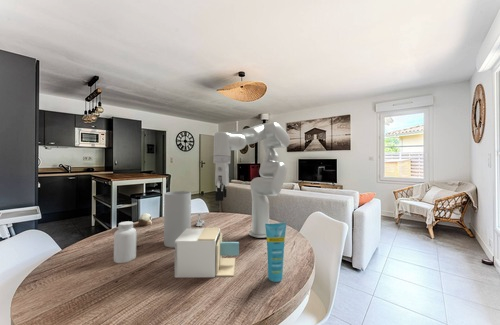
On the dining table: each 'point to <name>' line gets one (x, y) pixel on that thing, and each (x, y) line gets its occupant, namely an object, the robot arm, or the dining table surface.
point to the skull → (144, 220)
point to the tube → (275, 250)
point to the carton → (201, 254)
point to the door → (228, 248)
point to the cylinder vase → (176, 215)
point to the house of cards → (199, 221)
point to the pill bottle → (125, 242)
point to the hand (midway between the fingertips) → (221, 198)
